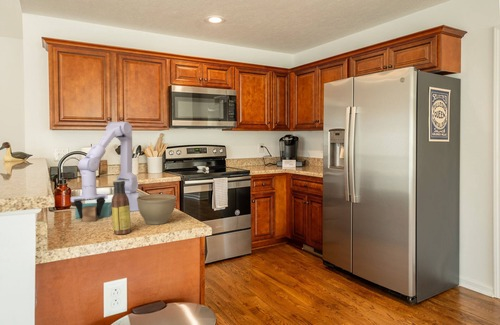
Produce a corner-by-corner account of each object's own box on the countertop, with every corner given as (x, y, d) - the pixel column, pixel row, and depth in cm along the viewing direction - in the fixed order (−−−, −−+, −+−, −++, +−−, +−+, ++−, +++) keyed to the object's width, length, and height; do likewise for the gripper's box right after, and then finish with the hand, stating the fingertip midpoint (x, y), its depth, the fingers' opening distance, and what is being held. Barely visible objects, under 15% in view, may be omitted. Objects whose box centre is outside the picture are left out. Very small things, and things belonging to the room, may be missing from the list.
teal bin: (112, 211, 168) (111, 202, 168) (109, 216, 157) (108, 206, 156) (81, 213, 164) (80, 203, 164) (75, 218, 153) (75, 208, 153)
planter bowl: (136, 228, 136) (135, 201, 135) (138, 219, 152) (137, 194, 151) (177, 225, 140) (177, 199, 140) (175, 217, 156) (175, 193, 155)
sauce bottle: (133, 230, 132) (131, 179, 131) (127, 235, 126) (126, 181, 125) (115, 230, 132) (114, 179, 131) (109, 235, 126) (108, 181, 124)
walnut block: (97, 219, 152) (96, 205, 152) (95, 221, 147) (95, 207, 147) (85, 219, 151) (84, 206, 150) (82, 222, 146) (82, 208, 146)
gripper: (103, 183, 156) (104, 212, 157) (68, 186, 146) (69, 217, 147) (108, 184, 150) (109, 215, 151) (72, 187, 141) (73, 220, 142)
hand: (90, 216), depth 149 cm, fingers closed on walnut block, 7 cm apart
